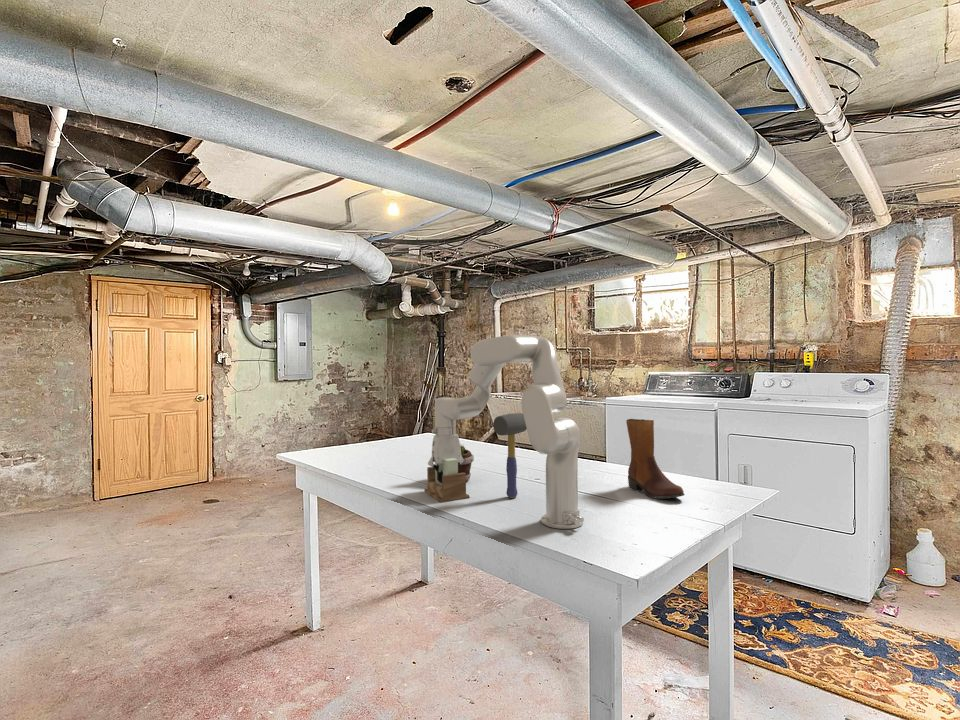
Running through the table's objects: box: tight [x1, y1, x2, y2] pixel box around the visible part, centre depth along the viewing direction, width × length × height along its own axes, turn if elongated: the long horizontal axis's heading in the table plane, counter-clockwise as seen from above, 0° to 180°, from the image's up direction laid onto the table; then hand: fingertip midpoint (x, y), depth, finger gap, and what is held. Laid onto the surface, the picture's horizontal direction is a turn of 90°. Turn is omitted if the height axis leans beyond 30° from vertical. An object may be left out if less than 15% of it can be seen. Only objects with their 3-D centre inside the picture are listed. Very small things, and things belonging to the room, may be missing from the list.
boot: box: [625, 418, 685, 500], centre depth 182 cm, size 25×9×27 cm, turn 17°
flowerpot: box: [458, 442, 475, 483], centre depth 203 cm, size 14×15×20 cm
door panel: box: [434, 458, 458, 486], centre depth 184 cm, size 12×4×12 cm, turn 27°
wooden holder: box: [424, 466, 470, 503], centre depth 184 cm, size 16×11×9 cm
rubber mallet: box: [492, 412, 527, 499], centre depth 179 cm, size 12×8×30 cm, turn 135°
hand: (446, 480), depth 184 cm, fingers closed on door panel, 4 cm apart
